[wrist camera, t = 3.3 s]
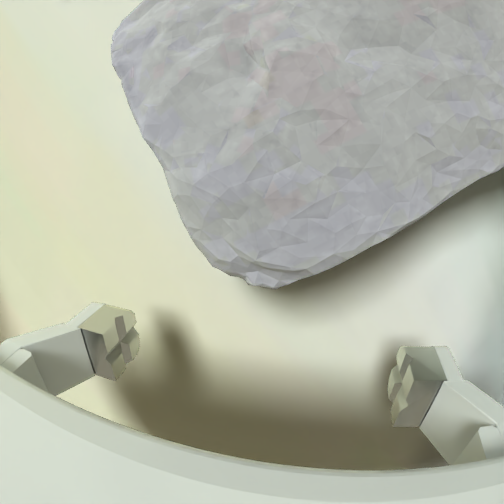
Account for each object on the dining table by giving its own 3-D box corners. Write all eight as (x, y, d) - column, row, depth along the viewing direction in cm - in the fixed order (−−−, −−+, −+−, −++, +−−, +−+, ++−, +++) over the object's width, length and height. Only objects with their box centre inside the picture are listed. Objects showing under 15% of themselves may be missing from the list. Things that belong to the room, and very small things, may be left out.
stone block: (150, 72, 11) (266, 285, 11) (72, 31, 7) (212, 338, 7) (383, -51, 8) (532, 139, 8) (384, -126, 3) (608, 115, 3)
